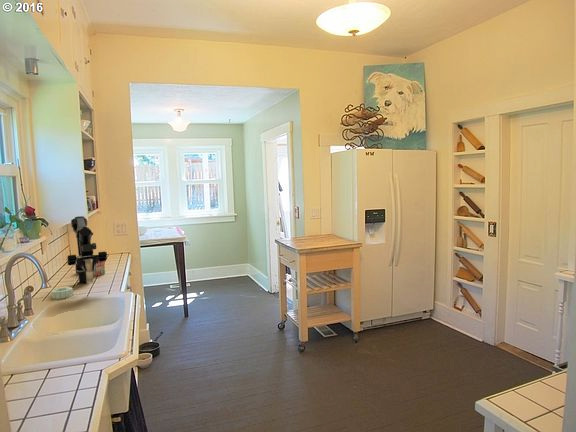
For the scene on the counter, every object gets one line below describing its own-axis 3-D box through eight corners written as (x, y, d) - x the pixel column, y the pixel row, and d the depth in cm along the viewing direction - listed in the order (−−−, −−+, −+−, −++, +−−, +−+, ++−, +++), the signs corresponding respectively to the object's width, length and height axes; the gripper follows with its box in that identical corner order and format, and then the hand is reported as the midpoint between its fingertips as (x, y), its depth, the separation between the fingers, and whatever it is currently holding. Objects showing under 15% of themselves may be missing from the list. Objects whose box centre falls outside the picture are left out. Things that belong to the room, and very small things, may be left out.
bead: (58, 294, 205) (57, 287, 204) (76, 293, 205) (75, 286, 205) (48, 299, 195) (47, 292, 195) (67, 298, 196) (66, 291, 196)
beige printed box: (77, 273, 257) (76, 255, 256) (86, 271, 263) (85, 253, 262) (96, 276, 247) (95, 257, 246) (105, 274, 252) (104, 255, 251)
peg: (88, 282, 203) (86, 259, 202) (94, 281, 203) (92, 258, 203) (85, 283, 200) (83, 260, 199) (91, 283, 200) (90, 259, 199)
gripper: (66, 240, 198) (69, 264, 190) (105, 236, 208) (109, 259, 200) (66, 253, 205) (69, 277, 197) (104, 249, 216) (108, 271, 207)
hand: (89, 270), depth 200 cm, fingers closed on peg, 3 cm apart
